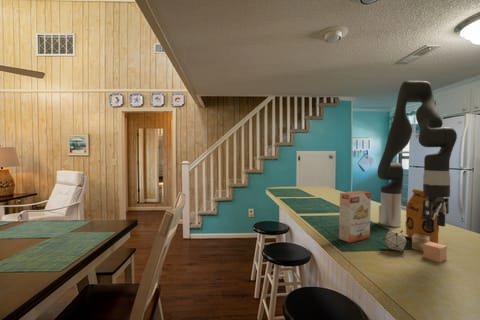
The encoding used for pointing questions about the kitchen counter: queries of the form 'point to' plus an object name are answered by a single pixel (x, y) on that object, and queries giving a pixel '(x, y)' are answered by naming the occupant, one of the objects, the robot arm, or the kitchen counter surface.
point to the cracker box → (354, 216)
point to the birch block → (419, 241)
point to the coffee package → (419, 217)
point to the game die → (395, 240)
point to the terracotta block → (435, 251)
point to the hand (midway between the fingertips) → (435, 227)
